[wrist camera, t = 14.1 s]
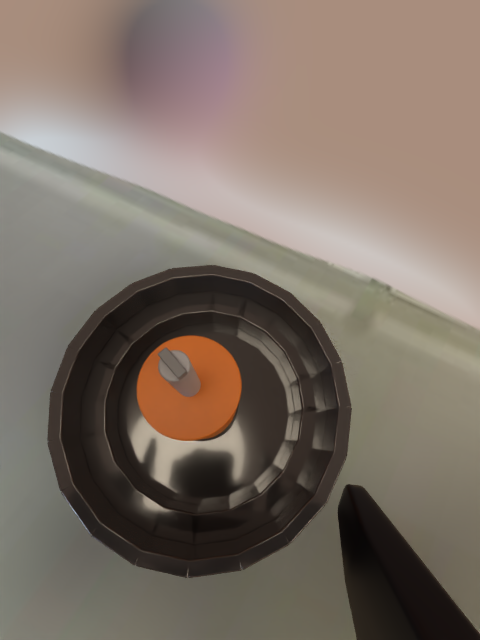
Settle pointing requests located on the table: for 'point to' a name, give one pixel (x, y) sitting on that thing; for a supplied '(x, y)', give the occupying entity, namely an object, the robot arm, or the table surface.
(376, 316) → the table surface
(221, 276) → the bowl
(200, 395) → the screwdriver
